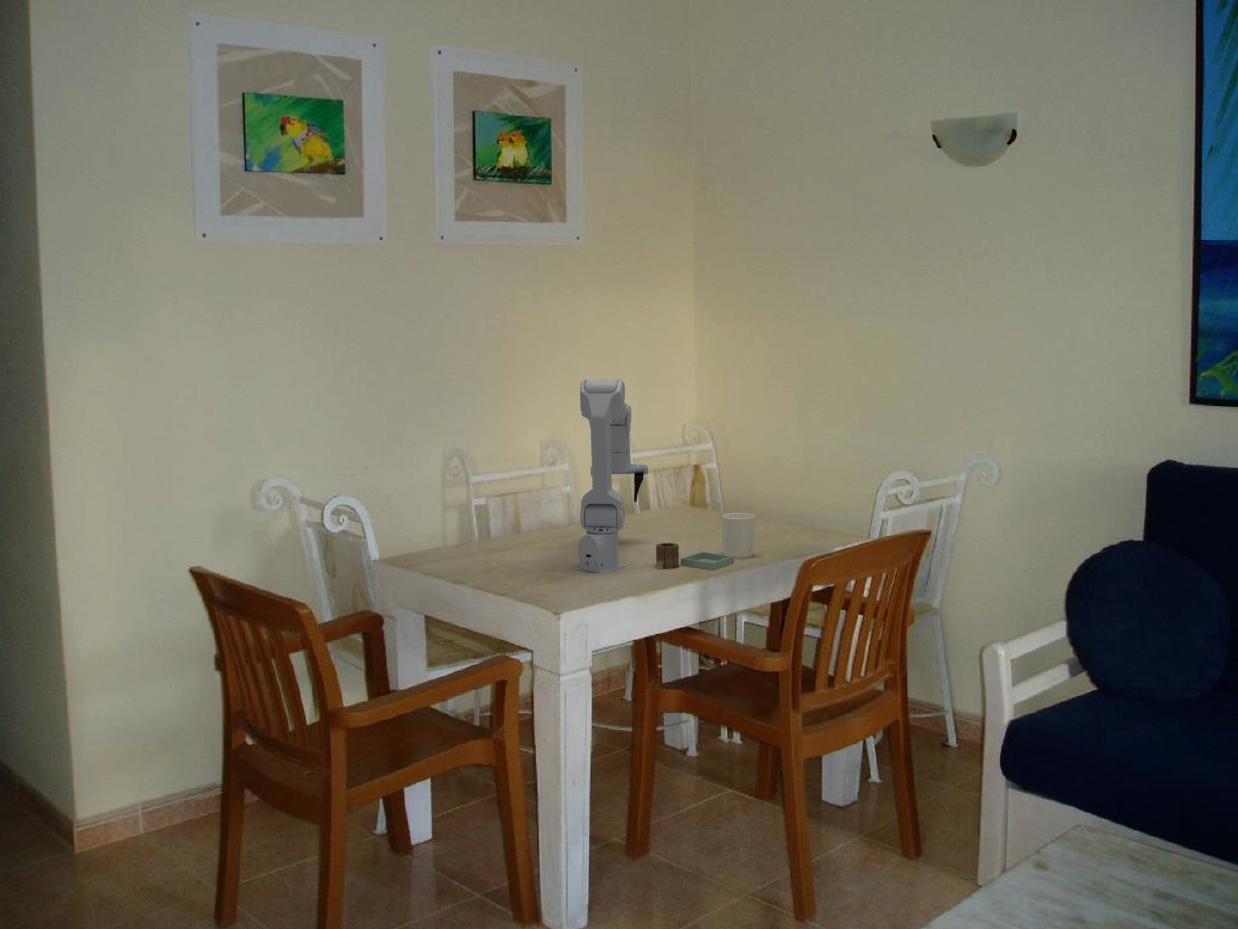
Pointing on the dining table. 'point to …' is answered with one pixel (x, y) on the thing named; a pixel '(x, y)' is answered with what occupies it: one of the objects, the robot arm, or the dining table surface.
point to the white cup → (738, 534)
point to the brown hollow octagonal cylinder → (667, 555)
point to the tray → (707, 560)
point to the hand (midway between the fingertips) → (620, 501)
